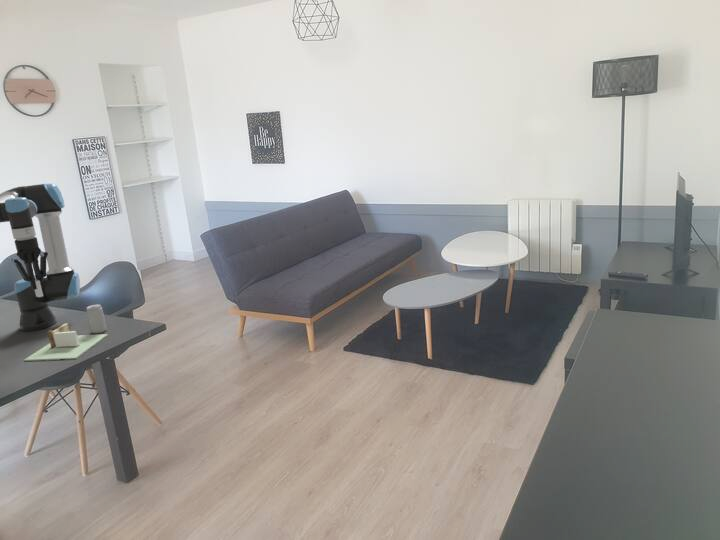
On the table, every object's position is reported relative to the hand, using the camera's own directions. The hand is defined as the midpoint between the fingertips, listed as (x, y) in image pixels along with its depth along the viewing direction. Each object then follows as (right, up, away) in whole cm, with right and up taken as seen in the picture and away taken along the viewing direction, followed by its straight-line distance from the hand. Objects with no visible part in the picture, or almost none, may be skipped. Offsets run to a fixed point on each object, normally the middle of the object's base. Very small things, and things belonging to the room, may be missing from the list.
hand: (39, 296), depth 220 cm
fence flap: (+5, -21, +11) cm, 24 cm away
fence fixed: (0, -21, +16) cm, 26 cm away
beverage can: (+11, -17, +27) cm, 34 cm away
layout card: (+5, -22, +11) cm, 25 cm away
